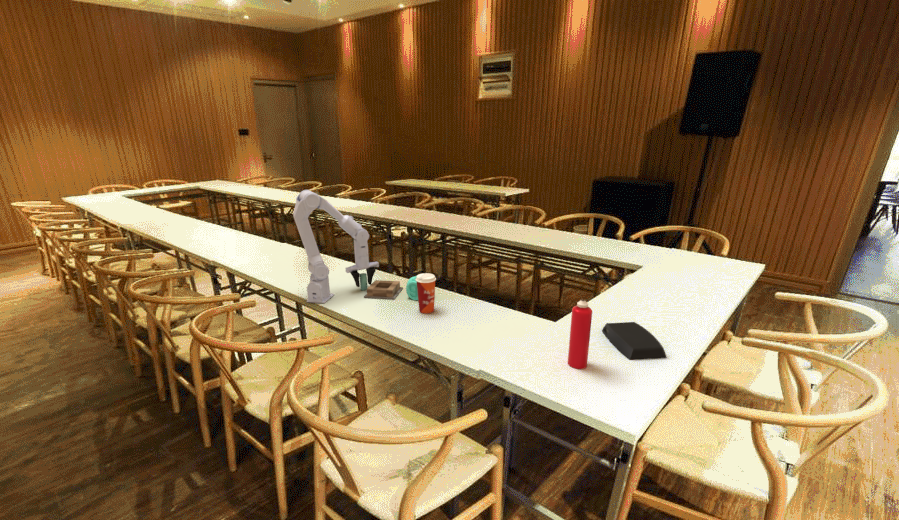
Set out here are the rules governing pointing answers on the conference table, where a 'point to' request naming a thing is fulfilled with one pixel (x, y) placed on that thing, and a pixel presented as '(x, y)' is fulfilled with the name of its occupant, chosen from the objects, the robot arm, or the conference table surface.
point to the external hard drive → (633, 341)
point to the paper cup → (426, 292)
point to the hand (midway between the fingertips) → (363, 285)
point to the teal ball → (412, 288)
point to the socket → (383, 290)
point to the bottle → (579, 335)
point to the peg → (363, 281)
